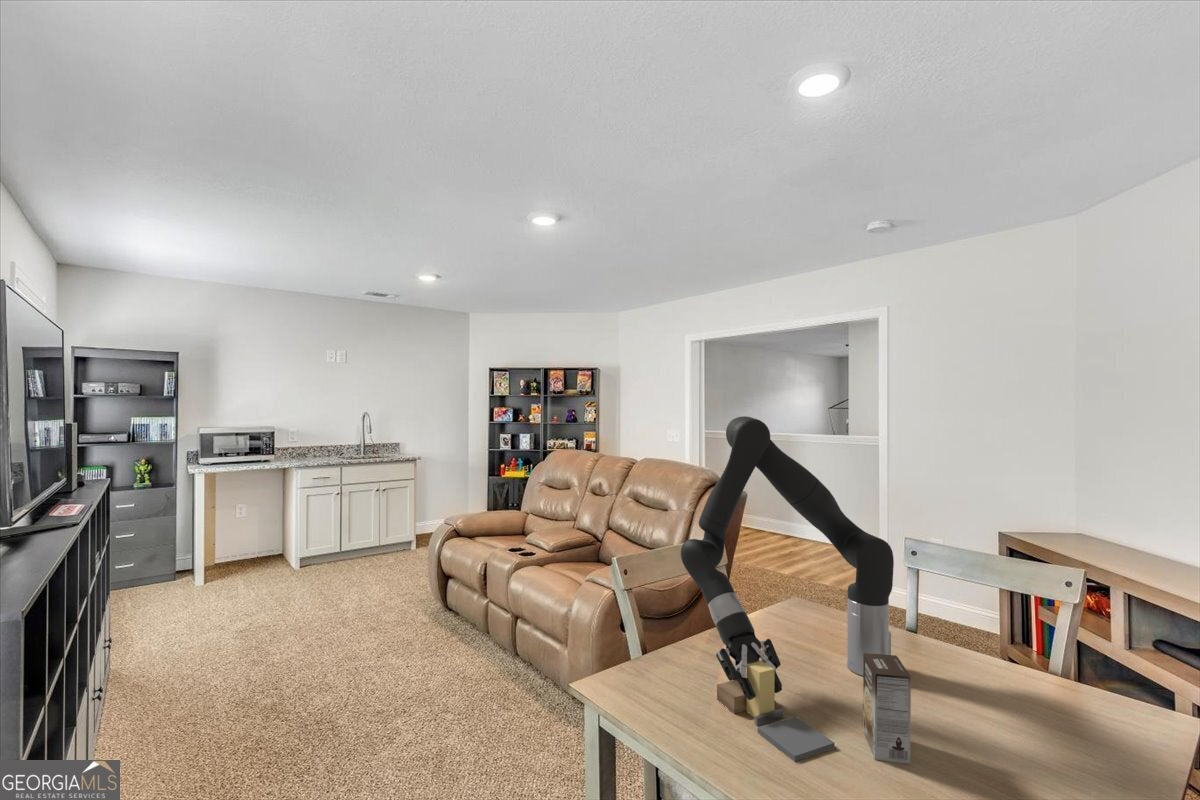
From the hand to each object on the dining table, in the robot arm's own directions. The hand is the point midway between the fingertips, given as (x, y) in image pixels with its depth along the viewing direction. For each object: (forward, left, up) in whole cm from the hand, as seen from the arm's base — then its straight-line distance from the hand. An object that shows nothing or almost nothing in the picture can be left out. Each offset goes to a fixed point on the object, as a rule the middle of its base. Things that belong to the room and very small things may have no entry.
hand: (765, 694), depth 117 cm
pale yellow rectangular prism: (0, -2, -5) cm, 5 cm away
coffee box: (-14, +17, -5) cm, 23 cm away
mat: (0, +8, -5) cm, 10 cm away
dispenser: (0, -4, -5) cm, 6 cm away
